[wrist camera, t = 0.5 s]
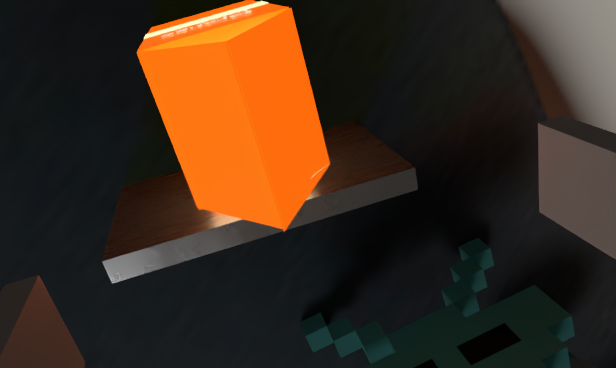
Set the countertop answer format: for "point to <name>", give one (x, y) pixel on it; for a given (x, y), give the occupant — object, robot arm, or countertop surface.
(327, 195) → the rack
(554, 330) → the alien figure
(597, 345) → the countertop surface
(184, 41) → the orange juice
